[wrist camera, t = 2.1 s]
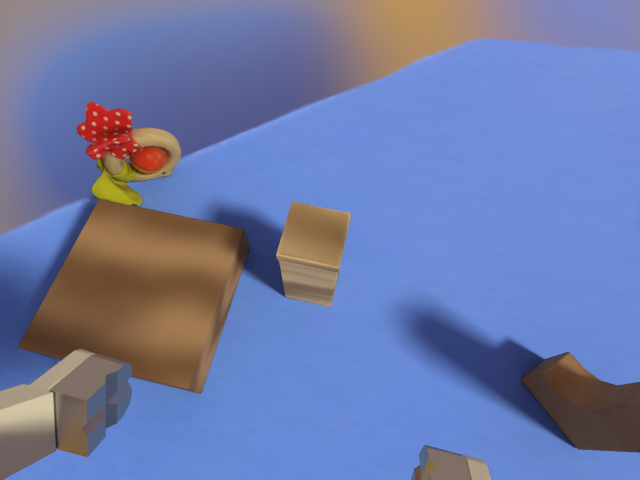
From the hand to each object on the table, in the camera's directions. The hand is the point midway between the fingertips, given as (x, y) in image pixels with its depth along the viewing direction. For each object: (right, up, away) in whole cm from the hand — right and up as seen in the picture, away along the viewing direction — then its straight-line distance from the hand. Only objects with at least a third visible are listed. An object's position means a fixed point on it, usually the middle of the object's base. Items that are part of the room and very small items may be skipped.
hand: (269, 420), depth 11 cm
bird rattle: (-17, +11, +32) cm, 38 cm away
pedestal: (-14, -1, +26) cm, 30 cm away
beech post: (+1, +1, +27) cm, 27 cm away
